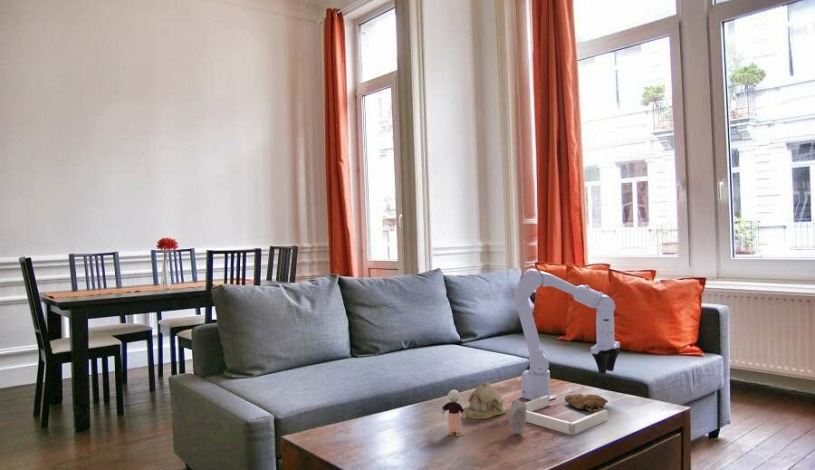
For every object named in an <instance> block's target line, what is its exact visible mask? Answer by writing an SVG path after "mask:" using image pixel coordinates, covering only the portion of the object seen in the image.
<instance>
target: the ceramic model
mask: <svg viewBox="0 0 815 470" xmlns="http://www.w3.org/2000/svg"><path fill="white" fill-rule="evenodd" d="M467 402H469V405H468V406H465V407H464V408H463V409H464V412H465V415H466V418H469V419H473V420H474V419H475V420H483V419H485V420H486V419H489V418H491V417H495V416H499V415H503V414H505V413H507V411H506V409H505V408H504V407H503V405H504V401H503V400H502V399H501V395H500V393H499V392H498V391H497V389H496V388H494V387H493V385H491V383H490V382H487V381H482V382H481V385H479V386H477V387H476V388H475V389H474V391H472V392H471V394H470V395H469V397H468V399H467Z"/></svg>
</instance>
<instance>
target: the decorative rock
mask: <svg viewBox="0 0 815 470" xmlns="http://www.w3.org/2000/svg"><path fill="white" fill-rule="evenodd" d="M564 401H565V403H567V404H568V405H570V406H571V407H574V408H575V409H579V410H583V409H584V410H585V411H587V412H589V413H592V414H594V413H596V412H599V411H601V410H604V409H605V405H607V404H608V402H609V401H608V400H607V399H606V398H605V397H602V396H600V395H599V394H589V393H577V394H568V395H566V396H564Z"/></svg>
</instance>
